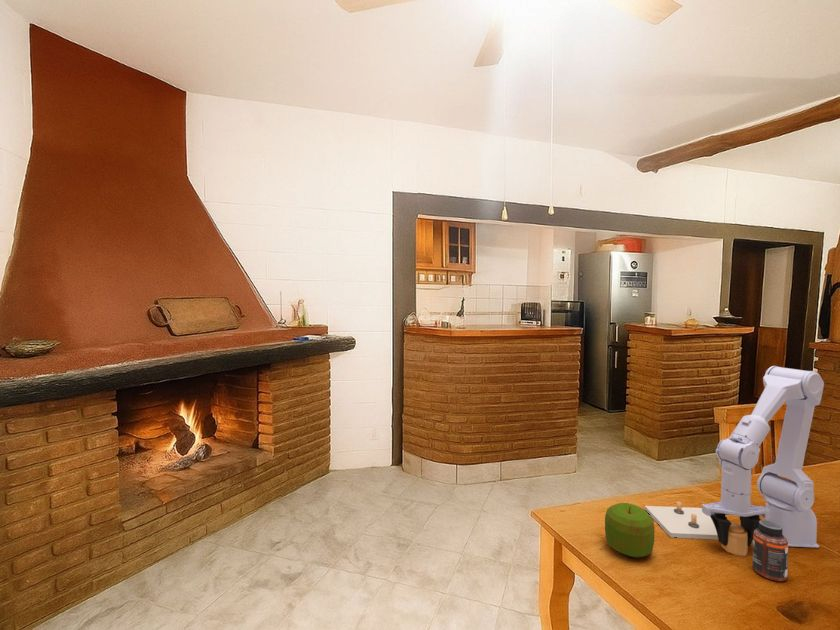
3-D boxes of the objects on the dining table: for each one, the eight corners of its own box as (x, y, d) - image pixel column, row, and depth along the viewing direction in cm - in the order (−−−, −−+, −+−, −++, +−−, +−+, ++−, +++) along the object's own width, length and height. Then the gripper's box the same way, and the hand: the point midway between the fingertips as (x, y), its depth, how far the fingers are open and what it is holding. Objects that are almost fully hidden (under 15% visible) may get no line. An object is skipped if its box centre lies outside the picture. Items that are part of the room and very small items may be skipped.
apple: (607, 532, 107) (607, 491, 107) (654, 544, 101) (654, 502, 101) (602, 554, 97) (602, 510, 97) (653, 569, 92) (654, 522, 91)
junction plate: (701, 512, 117) (702, 498, 117) (735, 540, 103) (736, 524, 103) (644, 509, 118) (644, 496, 118) (670, 537, 104) (670, 522, 104)
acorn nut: (737, 543, 102) (738, 521, 101) (752, 556, 97) (752, 532, 96) (717, 542, 102) (717, 520, 102) (730, 555, 97) (731, 531, 97)
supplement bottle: (795, 582, 88) (796, 531, 87) (770, 583, 87) (771, 532, 87) (768, 564, 94) (770, 516, 93) (745, 565, 93) (746, 517, 93)
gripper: (754, 483, 102) (753, 535, 103) (694, 481, 103) (693, 533, 104) (777, 496, 95) (775, 552, 96) (712, 494, 96) (711, 549, 97)
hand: (734, 543), depth 99 cm, fingers closed on acorn nut, 5 cm apart
